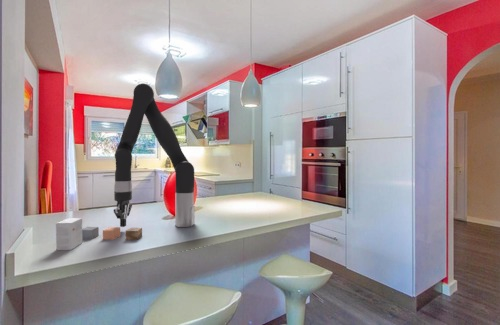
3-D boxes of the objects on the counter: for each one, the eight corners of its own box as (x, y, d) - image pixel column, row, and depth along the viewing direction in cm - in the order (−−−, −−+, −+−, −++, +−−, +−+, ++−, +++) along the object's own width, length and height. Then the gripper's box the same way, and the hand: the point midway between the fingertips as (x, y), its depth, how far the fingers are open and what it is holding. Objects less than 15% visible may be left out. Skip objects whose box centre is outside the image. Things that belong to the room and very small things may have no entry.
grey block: (98, 235, 117) (98, 227, 117) (91, 239, 112) (91, 230, 112) (87, 235, 118) (87, 226, 117) (80, 239, 113) (80, 229, 112)
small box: (68, 243, 107) (68, 217, 106) (82, 243, 107) (82, 217, 107) (55, 250, 99) (55, 223, 98) (71, 250, 99) (70, 222, 99)
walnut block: (142, 236, 117) (142, 227, 117) (137, 240, 112) (137, 231, 112) (131, 236, 117) (131, 227, 117) (125, 240, 112) (125, 230, 112)
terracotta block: (120, 236, 117) (120, 227, 117) (114, 239, 112) (114, 230, 112) (109, 236, 117) (109, 227, 117) (102, 239, 112) (102, 230, 112)
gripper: (123, 192, 117) (123, 230, 118) (137, 188, 130) (137, 223, 131) (107, 192, 118) (107, 230, 118) (122, 188, 131) (122, 222, 131)
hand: (123, 226), depth 125 cm, fingers closed
